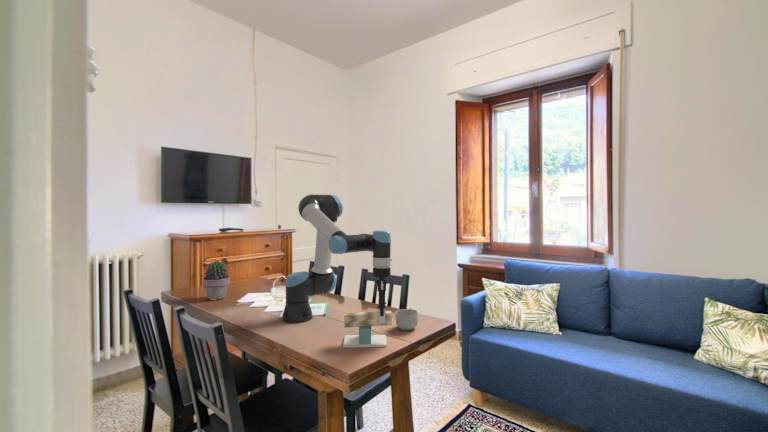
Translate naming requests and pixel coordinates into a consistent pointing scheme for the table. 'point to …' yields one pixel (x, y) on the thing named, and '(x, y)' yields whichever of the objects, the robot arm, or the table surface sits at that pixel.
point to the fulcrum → (365, 339)
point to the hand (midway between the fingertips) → (381, 321)
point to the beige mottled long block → (366, 319)
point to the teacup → (406, 319)
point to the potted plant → (216, 280)
